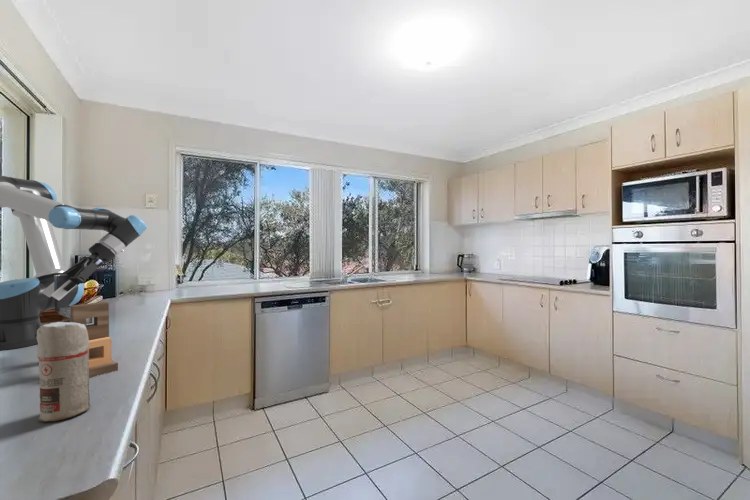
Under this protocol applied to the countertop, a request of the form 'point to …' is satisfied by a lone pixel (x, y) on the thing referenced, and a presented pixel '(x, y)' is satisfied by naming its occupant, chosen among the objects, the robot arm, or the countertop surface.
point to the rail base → (94, 330)
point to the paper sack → (63, 370)
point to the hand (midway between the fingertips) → (49, 296)
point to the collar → (105, 351)
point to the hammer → (63, 303)
